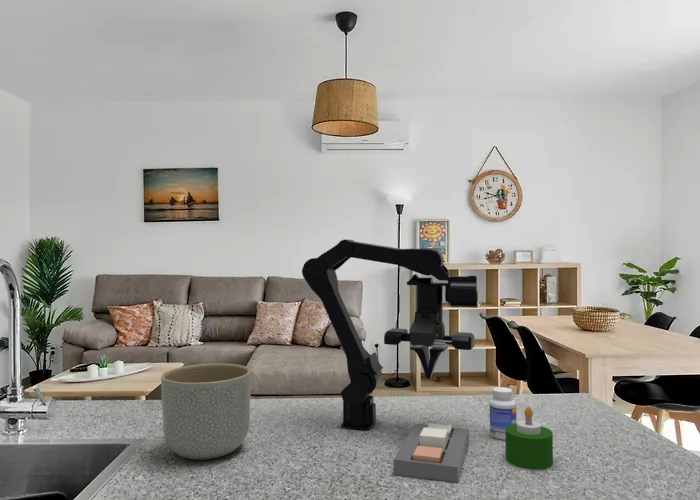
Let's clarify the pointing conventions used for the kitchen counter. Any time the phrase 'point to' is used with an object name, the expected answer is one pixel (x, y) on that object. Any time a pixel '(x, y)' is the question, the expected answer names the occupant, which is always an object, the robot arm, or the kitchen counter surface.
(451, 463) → the keypad
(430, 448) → the key terracotta
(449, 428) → the key sage
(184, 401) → the planter
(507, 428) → the candle
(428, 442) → the key white
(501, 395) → the pill bottle
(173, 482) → the kitchen counter surface
